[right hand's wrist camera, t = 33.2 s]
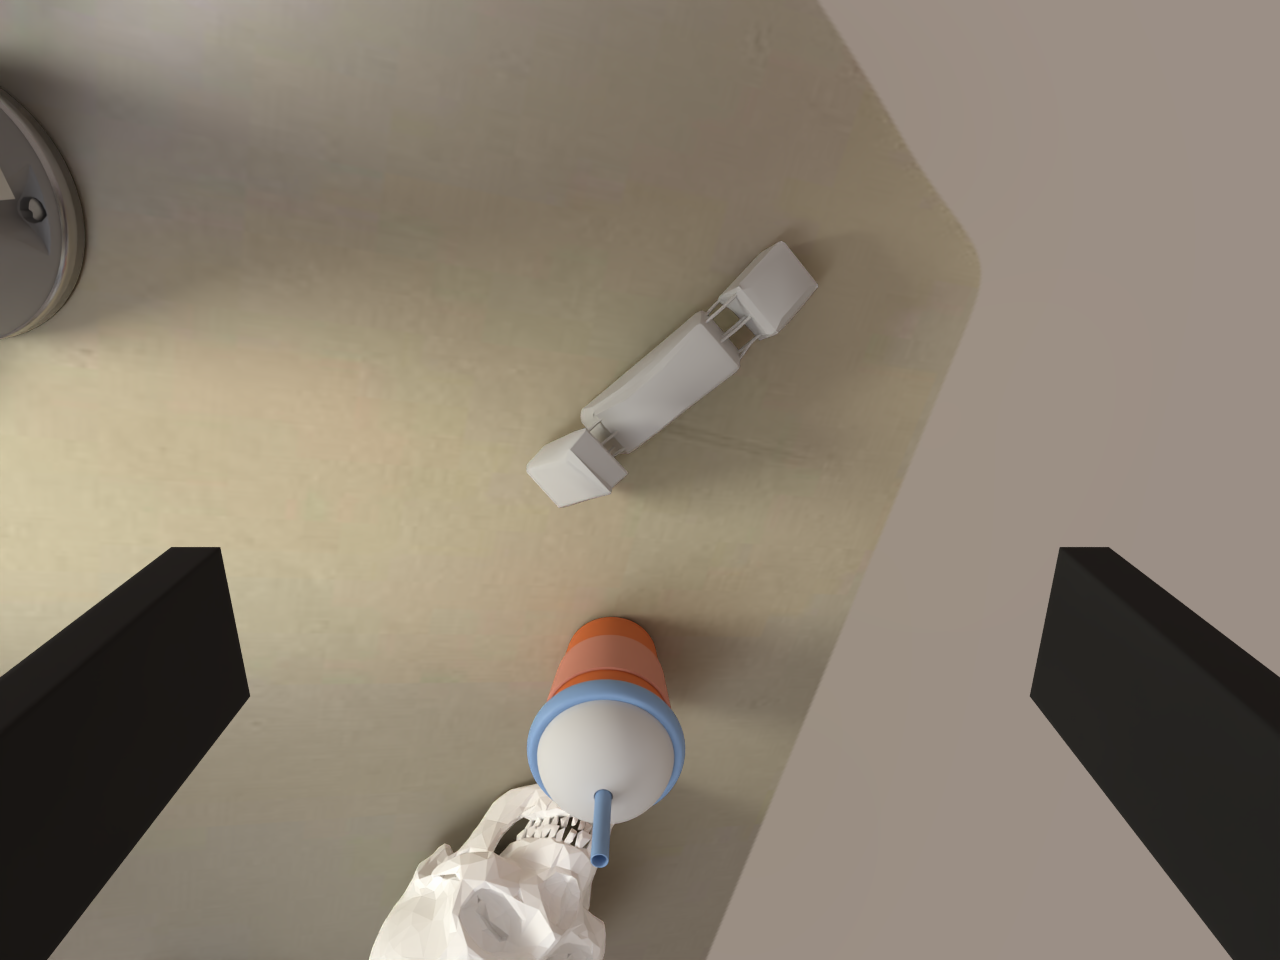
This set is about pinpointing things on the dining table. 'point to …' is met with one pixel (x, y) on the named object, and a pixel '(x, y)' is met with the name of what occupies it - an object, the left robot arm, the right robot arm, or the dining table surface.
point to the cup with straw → (607, 730)
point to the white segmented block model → (670, 379)
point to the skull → (501, 893)
